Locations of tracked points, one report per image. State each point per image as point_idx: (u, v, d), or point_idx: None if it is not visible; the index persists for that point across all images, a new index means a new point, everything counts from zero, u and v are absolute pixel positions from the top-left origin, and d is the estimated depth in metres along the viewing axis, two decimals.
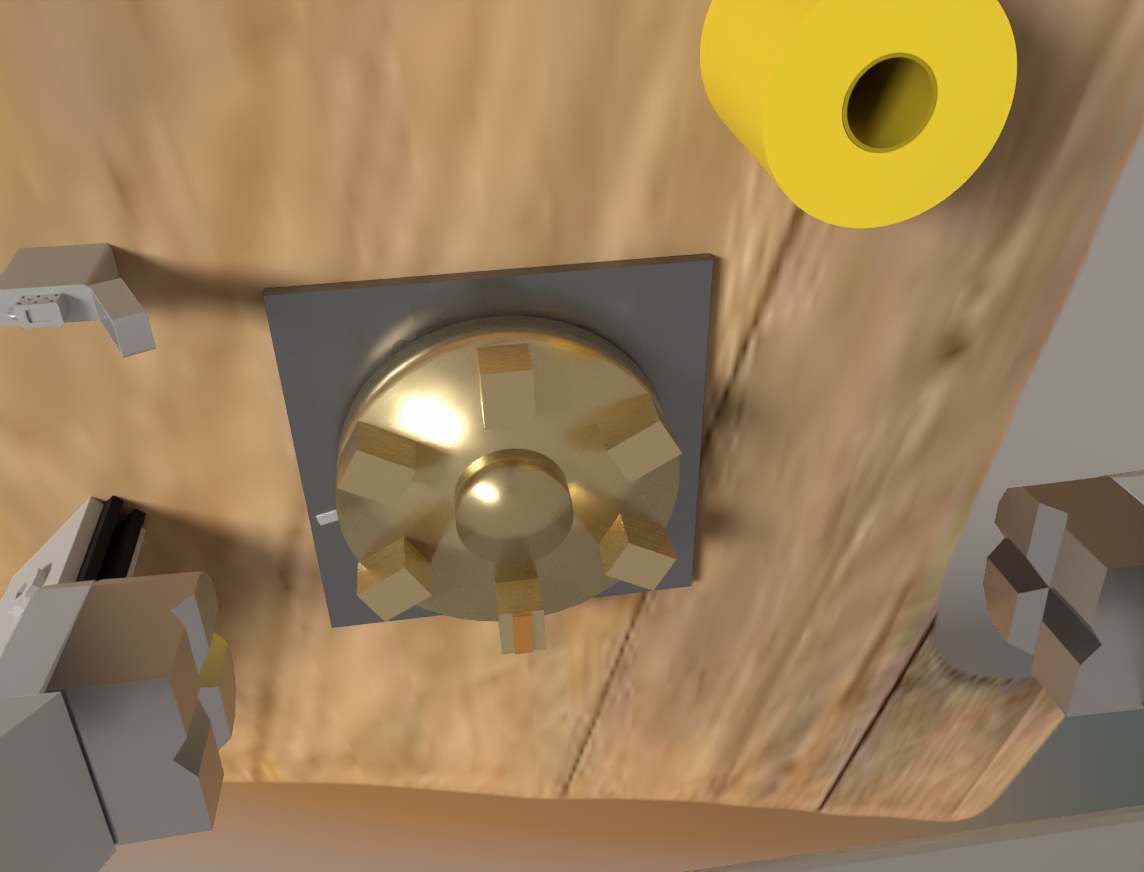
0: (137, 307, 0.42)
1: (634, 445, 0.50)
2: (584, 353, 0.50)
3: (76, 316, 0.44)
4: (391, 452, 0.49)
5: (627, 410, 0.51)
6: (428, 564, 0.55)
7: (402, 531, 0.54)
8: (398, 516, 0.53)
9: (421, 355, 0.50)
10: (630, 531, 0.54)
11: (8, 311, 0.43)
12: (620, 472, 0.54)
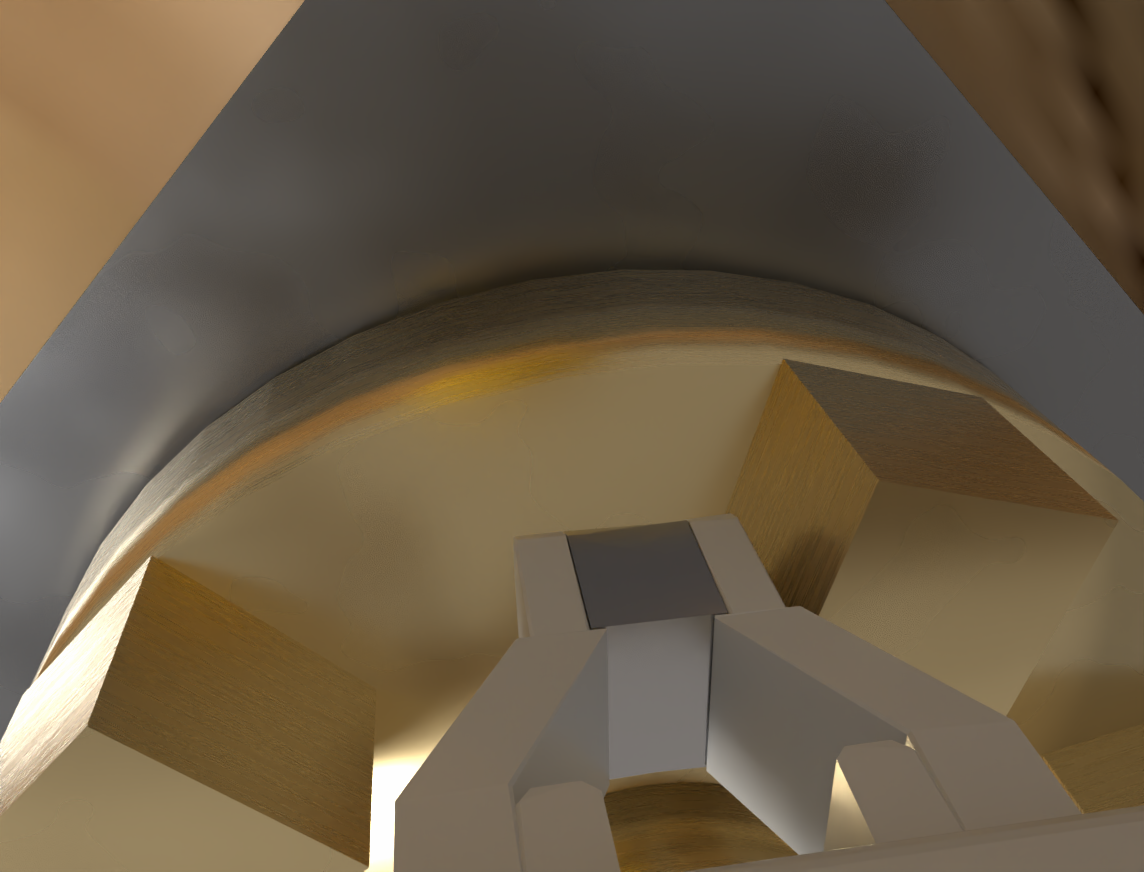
0: None
1: None
2: (396, 418, 0.11)
3: None
4: None
5: (751, 484, 0.11)
6: None
7: None
8: None
9: None
10: None
11: None
12: None
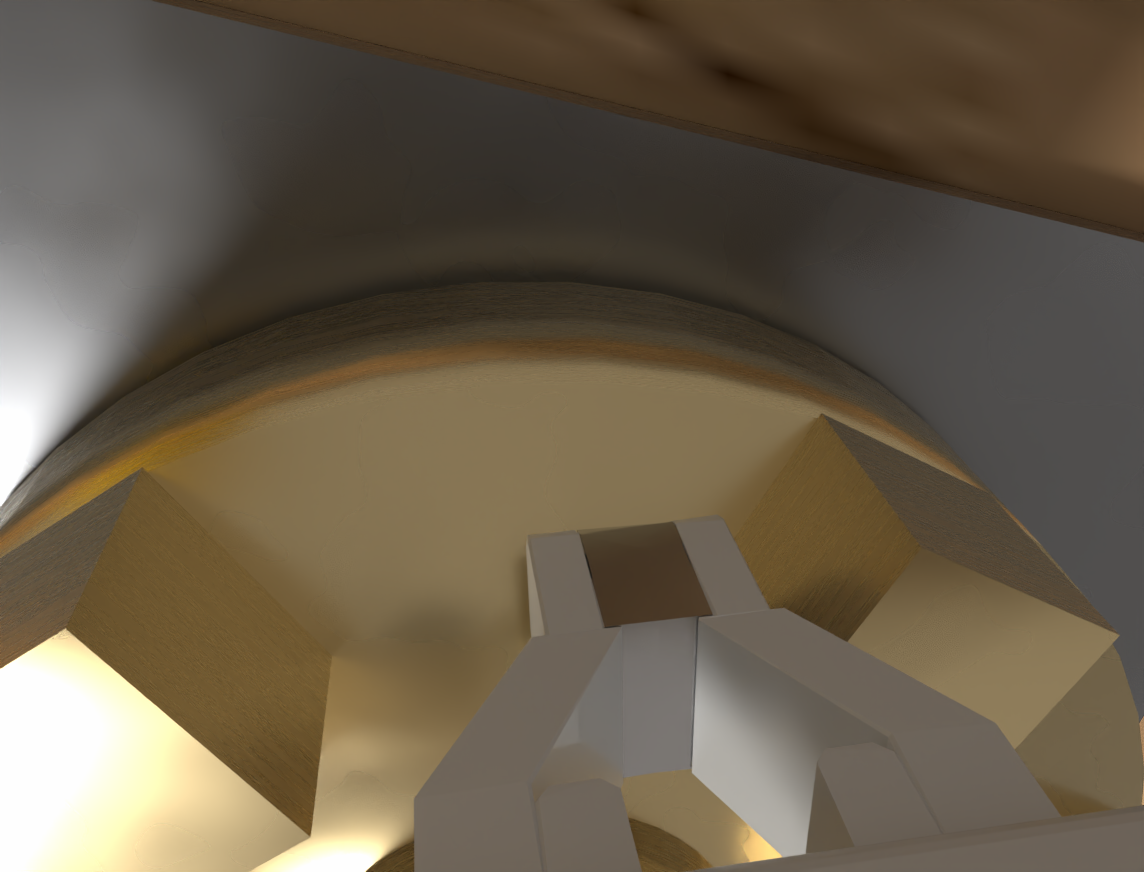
0: None
1: None
2: (431, 385, 0.10)
3: None
4: None
5: (761, 529, 0.11)
6: None
7: None
8: None
9: None
10: None
11: None
12: None
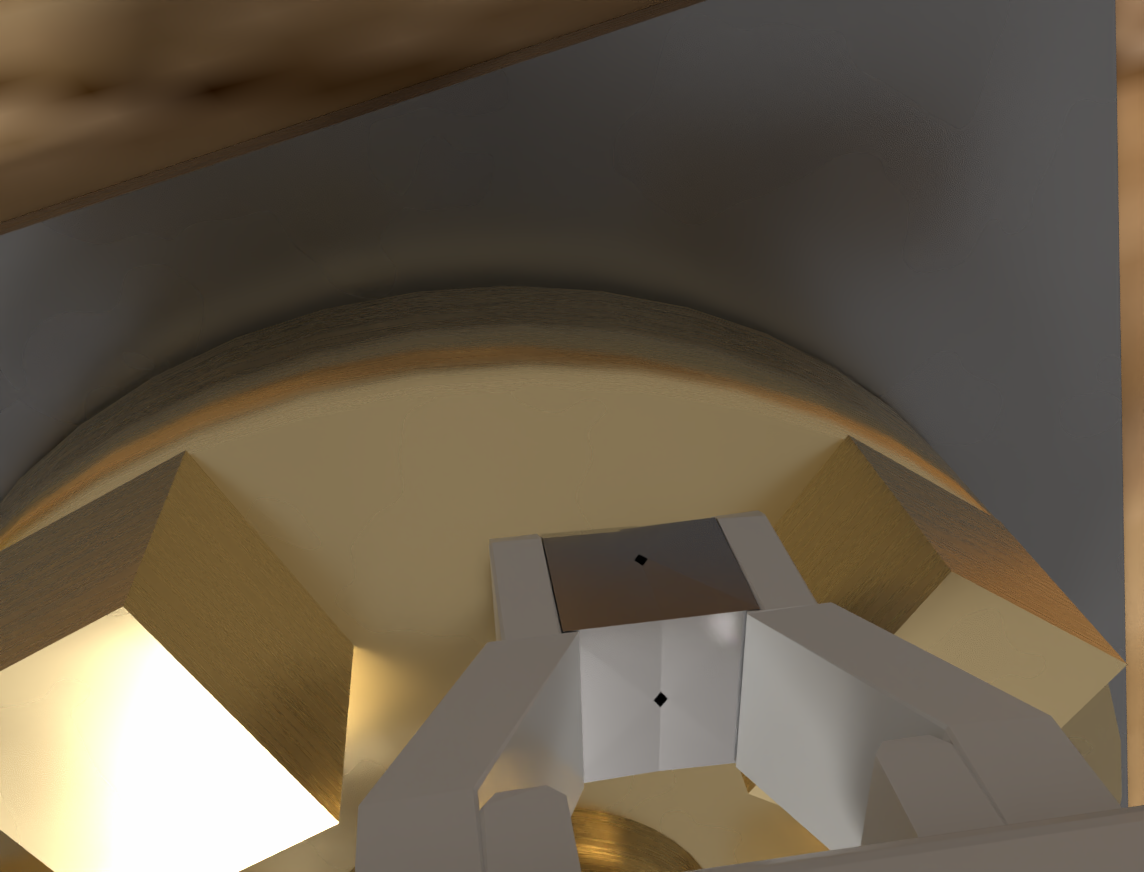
0: None
1: None
2: (476, 385, 0.11)
3: None
4: None
5: (783, 543, 0.11)
6: None
7: None
8: None
9: None
10: None
11: None
12: None
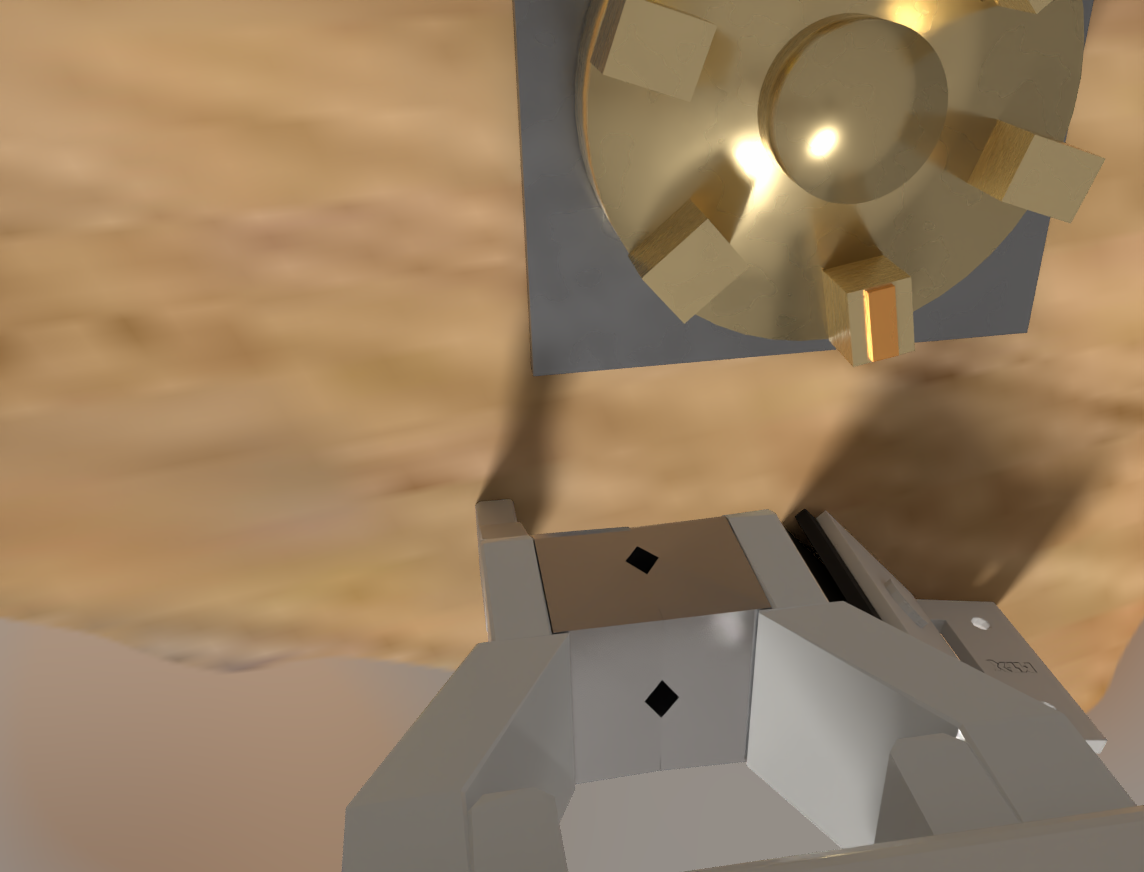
0: None
1: None
2: None
3: None
4: (674, 9, 0.32)
5: None
6: (728, 242, 0.38)
7: (687, 189, 0.37)
8: (680, 162, 0.36)
9: None
10: (1025, 130, 0.36)
11: None
12: (997, 41, 0.36)
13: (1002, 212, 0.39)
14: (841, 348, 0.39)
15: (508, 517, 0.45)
